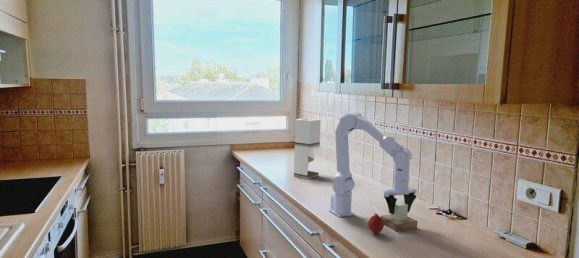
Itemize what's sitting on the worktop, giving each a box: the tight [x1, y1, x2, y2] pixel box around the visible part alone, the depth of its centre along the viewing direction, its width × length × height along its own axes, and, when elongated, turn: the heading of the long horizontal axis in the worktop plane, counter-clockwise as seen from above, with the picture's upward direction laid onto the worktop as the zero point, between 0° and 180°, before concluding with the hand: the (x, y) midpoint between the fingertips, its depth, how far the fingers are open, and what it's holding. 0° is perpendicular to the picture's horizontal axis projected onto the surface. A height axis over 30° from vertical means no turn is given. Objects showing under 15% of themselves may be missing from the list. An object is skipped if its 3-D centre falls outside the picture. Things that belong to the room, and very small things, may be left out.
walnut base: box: [380, 213, 418, 233], centre depth 151 cm, size 10×10×3 cm
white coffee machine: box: [293, 117, 322, 180], centre depth 230 cm, size 11×11×35 cm
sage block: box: [390, 201, 409, 221], centre depth 151 cm, size 4×4×6 cm
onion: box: [367, 212, 385, 235], centre depth 142 cm, size 6×6×8 cm
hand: (399, 212), depth 151 cm, fingers open, 7 cm apart
